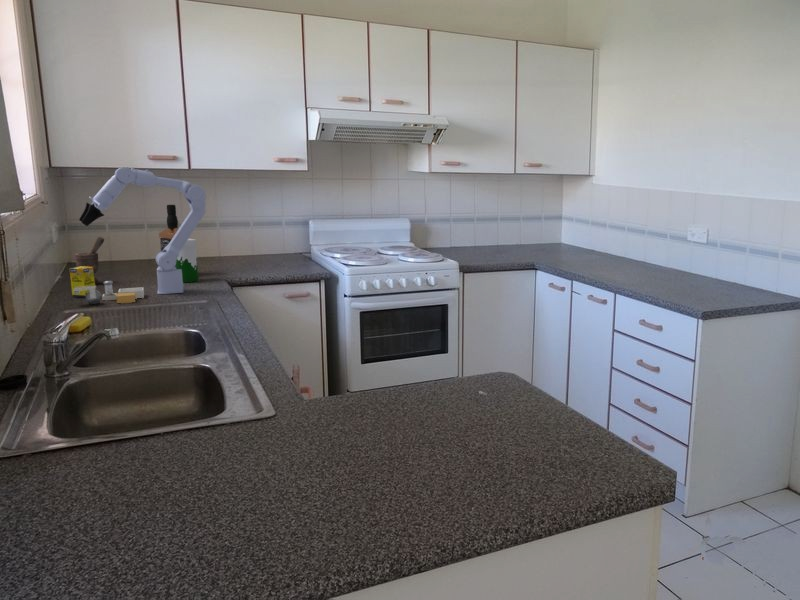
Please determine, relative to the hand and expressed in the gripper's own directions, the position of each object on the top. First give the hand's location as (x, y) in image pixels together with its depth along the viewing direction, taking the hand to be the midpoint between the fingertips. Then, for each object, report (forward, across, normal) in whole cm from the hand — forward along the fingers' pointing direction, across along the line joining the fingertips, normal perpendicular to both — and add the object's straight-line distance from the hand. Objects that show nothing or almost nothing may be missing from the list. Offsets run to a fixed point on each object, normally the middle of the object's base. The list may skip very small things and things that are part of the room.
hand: (82, 223), depth 221 cm
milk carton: (-5, -18, +49) cm, 52 cm away
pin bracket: (+17, +4, +23) cm, 29 cm away
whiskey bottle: (-4, -34, +49) cm, 59 cm away
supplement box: (+22, -8, +18) cm, 30 cm away
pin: (+17, +4, +23) cm, 29 cm away
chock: (+14, +13, +26) cm, 32 cm away
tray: (+12, +6, +29) cm, 31 cm away
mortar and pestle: (+19, -33, +24) cm, 45 cm away
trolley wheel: (+22, +10, +17) cm, 30 cm away
